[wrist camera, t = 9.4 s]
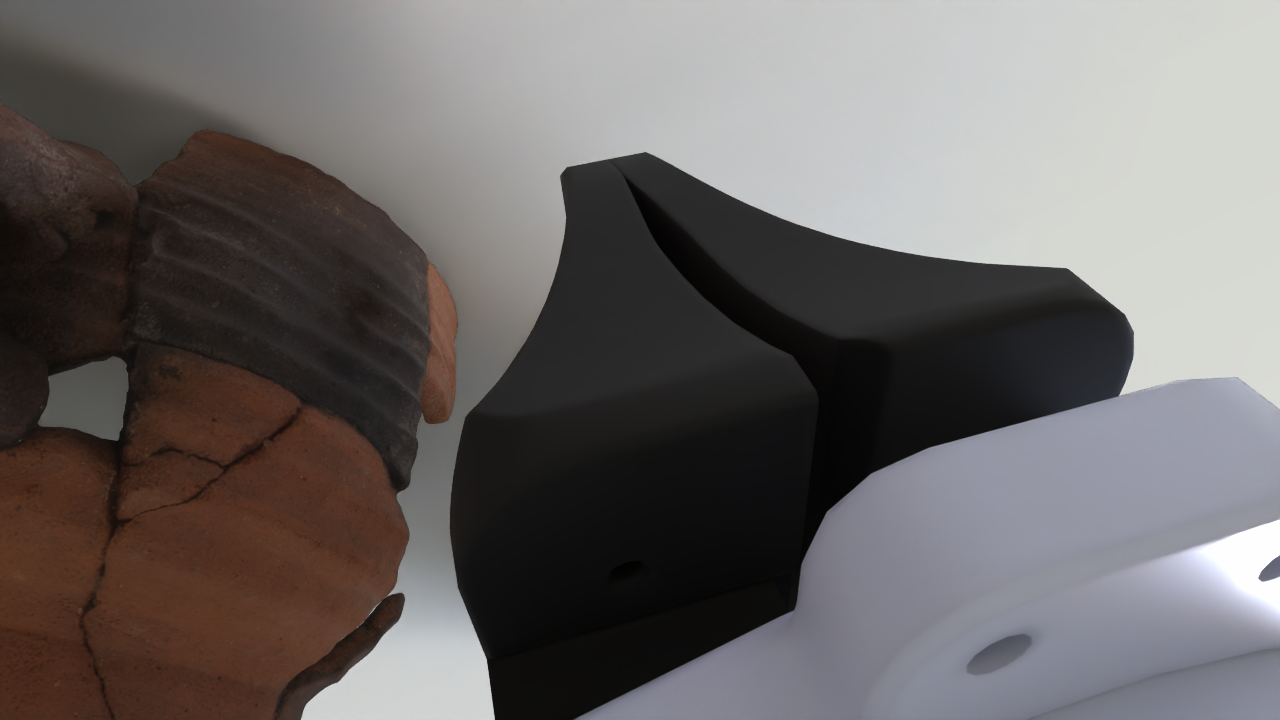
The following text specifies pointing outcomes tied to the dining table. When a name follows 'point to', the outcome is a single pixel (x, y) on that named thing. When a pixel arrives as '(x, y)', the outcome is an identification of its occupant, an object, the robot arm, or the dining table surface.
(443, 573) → the dining table surface
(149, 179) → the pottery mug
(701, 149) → the dining table surface
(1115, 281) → the dining table surface
